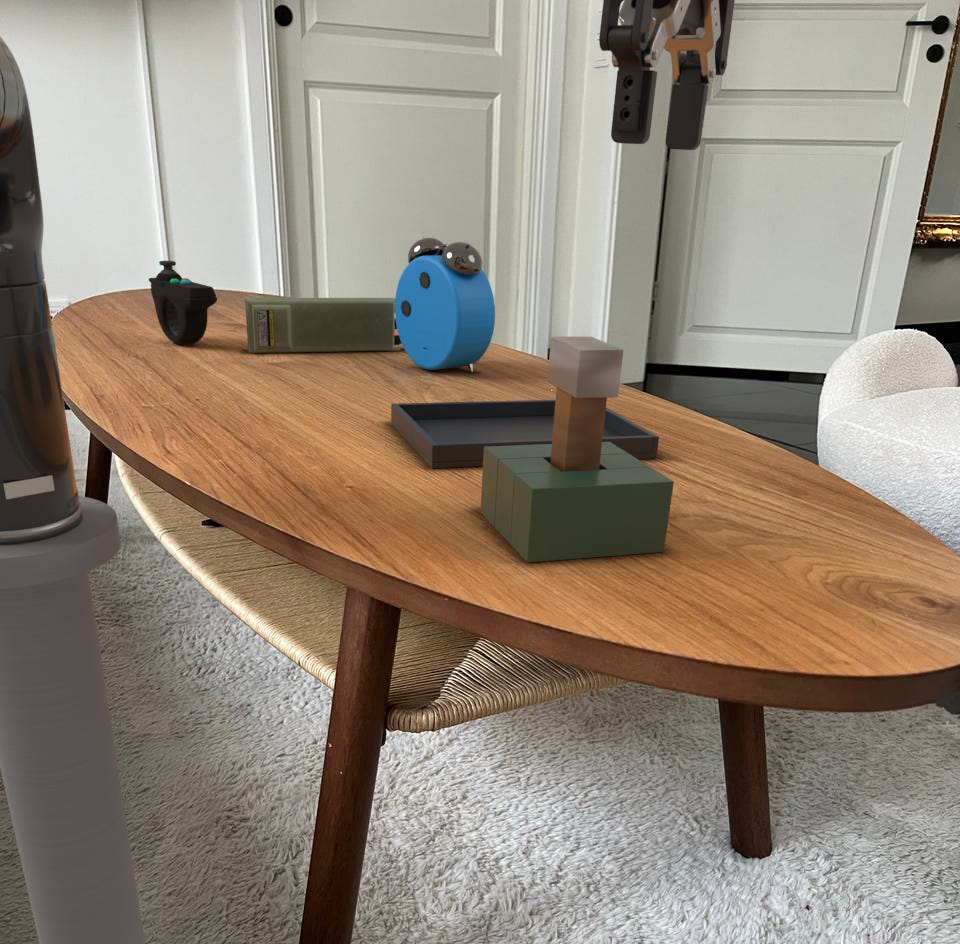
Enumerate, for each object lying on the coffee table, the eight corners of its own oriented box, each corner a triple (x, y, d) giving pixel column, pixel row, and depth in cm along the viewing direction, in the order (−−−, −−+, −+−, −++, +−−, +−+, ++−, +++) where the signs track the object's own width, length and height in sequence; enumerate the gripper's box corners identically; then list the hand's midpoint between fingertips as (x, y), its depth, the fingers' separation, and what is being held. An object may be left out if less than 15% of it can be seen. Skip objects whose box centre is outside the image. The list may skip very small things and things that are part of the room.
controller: (180, 336, 129) (172, 258, 124) (225, 351, 121) (219, 268, 117) (150, 338, 126) (141, 259, 122) (194, 353, 118) (187, 269, 114)
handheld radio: (247, 349, 123) (428, 346, 131) (250, 355, 120) (435, 351, 128) (244, 296, 119) (429, 296, 128) (247, 300, 117) (437, 301, 125)
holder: (527, 562, 61) (532, 489, 59) (480, 512, 69) (483, 446, 67) (663, 552, 64) (674, 481, 61) (602, 505, 72) (610, 441, 70)
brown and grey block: (562, 545, 64) (580, 350, 58) (536, 521, 68) (550, 336, 62) (601, 542, 65) (623, 349, 59) (573, 518, 69) (591, 336, 63)
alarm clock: (493, 376, 115) (501, 244, 108) (454, 380, 111) (459, 244, 104) (429, 358, 124) (432, 235, 117) (391, 361, 120) (392, 235, 113)
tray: (431, 468, 79) (432, 445, 78) (391, 423, 91) (391, 403, 91) (656, 458, 85) (659, 436, 84) (589, 417, 98) (590, 398, 97)
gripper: (680, -142, 59) (646, 149, 66) (578, -221, 48) (550, 138, 55) (799, -155, 55) (750, 154, 63) (719, -244, 44) (670, 143, 52)
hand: (656, 146), depth 59 cm, fingers open, 8 cm apart
